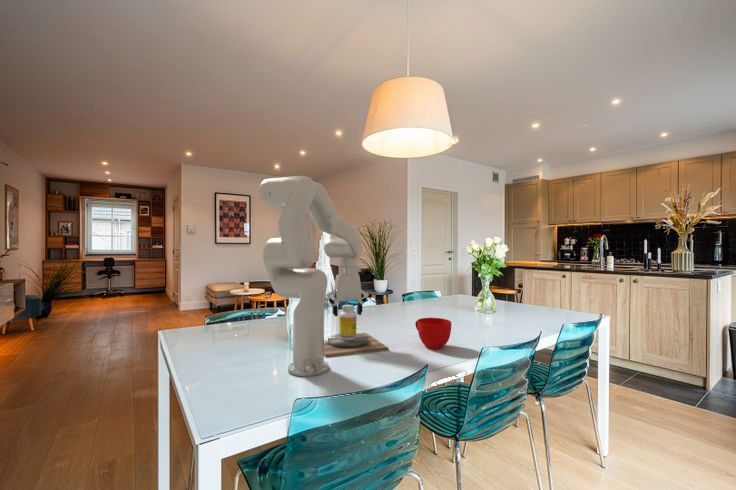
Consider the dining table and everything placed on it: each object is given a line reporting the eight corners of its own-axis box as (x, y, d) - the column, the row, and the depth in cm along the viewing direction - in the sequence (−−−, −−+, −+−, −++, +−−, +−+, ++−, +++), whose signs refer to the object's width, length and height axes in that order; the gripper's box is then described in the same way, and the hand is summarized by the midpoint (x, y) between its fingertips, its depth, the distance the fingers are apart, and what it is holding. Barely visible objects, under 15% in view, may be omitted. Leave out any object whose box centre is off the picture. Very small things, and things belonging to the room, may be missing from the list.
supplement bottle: (354, 341, 133) (354, 307, 133) (337, 340, 134) (337, 306, 134) (358, 336, 139) (358, 304, 139) (342, 335, 141) (342, 304, 141)
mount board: (388, 350, 130) (388, 343, 130) (325, 357, 121) (325, 350, 121) (365, 335, 152) (365, 329, 152) (311, 340, 144) (311, 334, 144)
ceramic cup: (427, 338, 147) (427, 314, 147) (458, 348, 133) (458, 322, 133) (403, 343, 140) (404, 318, 140) (433, 354, 126) (433, 326, 126)
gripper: (365, 270, 143) (364, 312, 143) (324, 270, 137) (323, 314, 137) (372, 271, 136) (371, 315, 136) (329, 271, 130) (328, 317, 130)
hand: (347, 315), depth 136 cm, fingers open, 9 cm apart
